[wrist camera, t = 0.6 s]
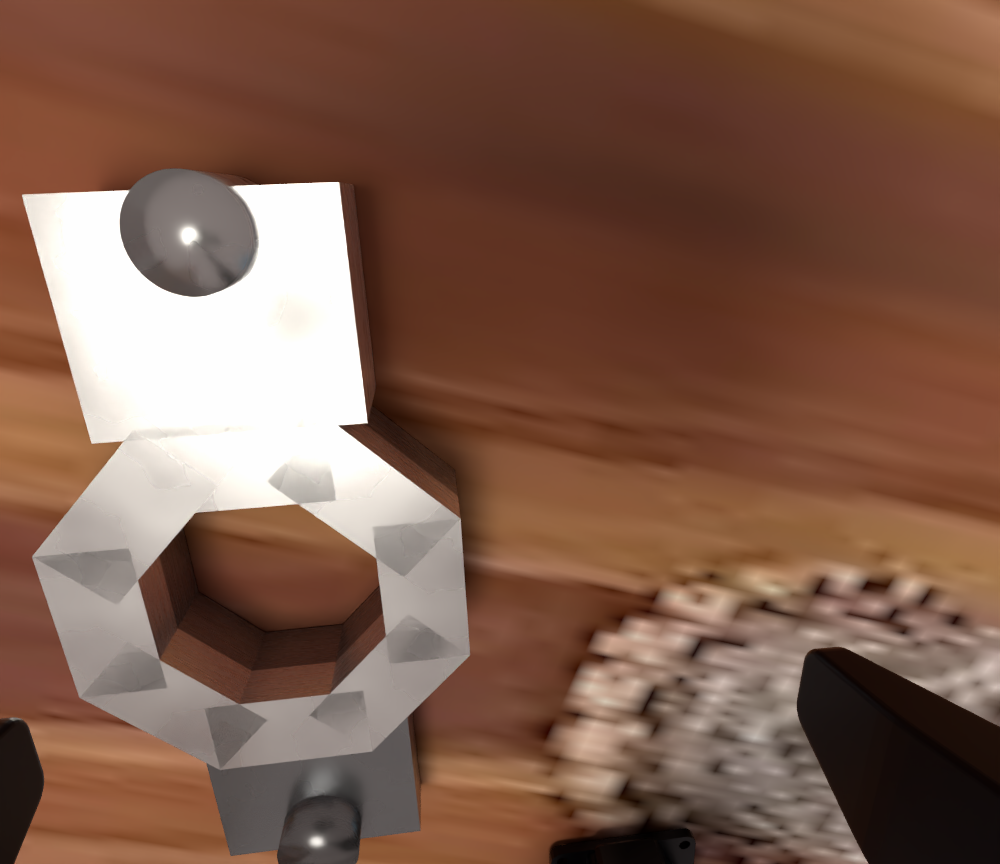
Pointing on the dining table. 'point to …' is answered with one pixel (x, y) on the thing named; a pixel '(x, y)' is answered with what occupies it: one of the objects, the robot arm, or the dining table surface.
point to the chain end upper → (234, 458)
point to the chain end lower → (321, 781)
